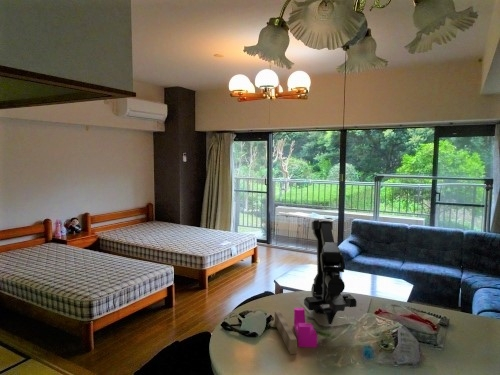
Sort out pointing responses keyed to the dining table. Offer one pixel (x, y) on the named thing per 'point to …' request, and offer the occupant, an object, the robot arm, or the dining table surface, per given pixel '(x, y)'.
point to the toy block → (304, 330)
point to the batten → (286, 333)
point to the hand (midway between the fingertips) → (329, 323)
